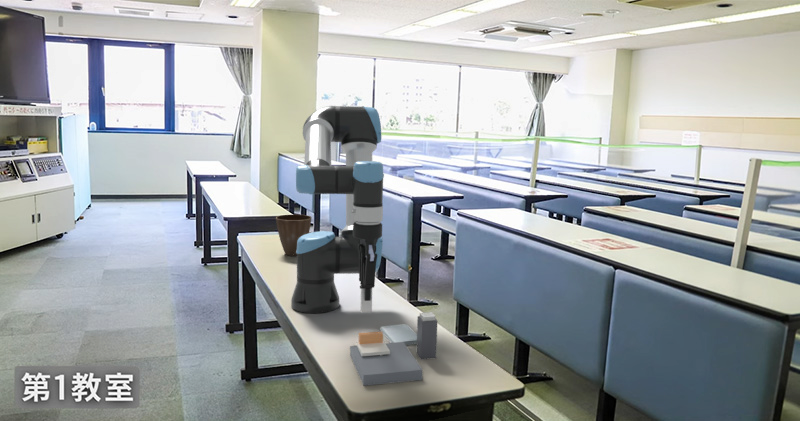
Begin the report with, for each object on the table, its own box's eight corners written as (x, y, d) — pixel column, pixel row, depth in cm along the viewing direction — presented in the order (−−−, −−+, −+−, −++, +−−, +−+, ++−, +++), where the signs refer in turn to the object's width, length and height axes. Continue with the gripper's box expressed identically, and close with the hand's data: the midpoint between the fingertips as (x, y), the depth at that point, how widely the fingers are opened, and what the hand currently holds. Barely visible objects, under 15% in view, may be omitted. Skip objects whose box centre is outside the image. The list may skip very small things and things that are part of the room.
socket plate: (350, 355, 149) (350, 346, 149) (403, 350, 153) (403, 341, 152) (363, 385, 133) (363, 375, 133) (422, 379, 137) (422, 369, 136)
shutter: (356, 345, 149) (356, 333, 148) (383, 343, 150) (383, 331, 150) (361, 356, 142) (362, 343, 141) (389, 354, 144) (390, 341, 143)
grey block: (416, 353, 152) (417, 312, 150) (431, 351, 153) (432, 311, 151) (420, 359, 148) (422, 317, 146) (436, 358, 149) (437, 316, 147)
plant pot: (272, 251, 255) (272, 215, 252) (306, 248, 261) (305, 213, 259) (280, 259, 242) (280, 221, 239) (315, 256, 248) (315, 219, 245)
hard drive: (423, 339, 158) (406, 323, 170) (394, 342, 155) (379, 326, 167) (423, 345, 159) (406, 328, 170) (394, 348, 156) (379, 331, 167)
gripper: (348, 218, 155) (347, 304, 158) (357, 227, 142) (356, 320, 146) (376, 217, 157) (374, 302, 160) (388, 226, 144) (386, 318, 148)
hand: (366, 311), depth 153 cm, fingers closed
